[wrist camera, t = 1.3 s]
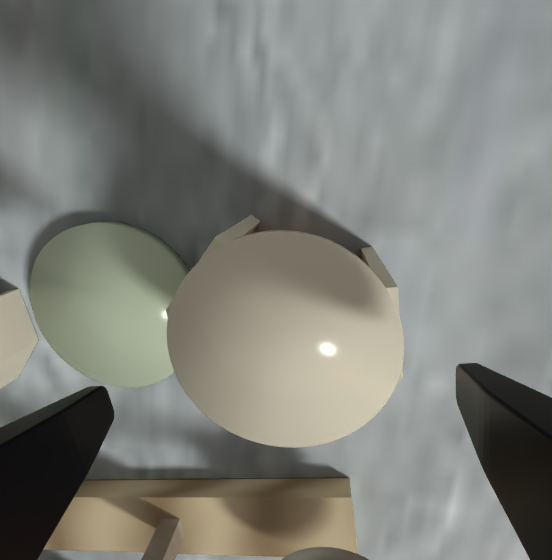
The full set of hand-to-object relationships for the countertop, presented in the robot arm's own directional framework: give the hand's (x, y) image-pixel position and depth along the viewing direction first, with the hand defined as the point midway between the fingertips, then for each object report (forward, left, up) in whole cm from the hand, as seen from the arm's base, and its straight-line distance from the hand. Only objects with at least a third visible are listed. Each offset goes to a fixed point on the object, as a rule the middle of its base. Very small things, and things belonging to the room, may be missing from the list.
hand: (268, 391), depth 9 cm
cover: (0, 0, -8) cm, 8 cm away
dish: (0, +9, -8) cm, 12 cm away
